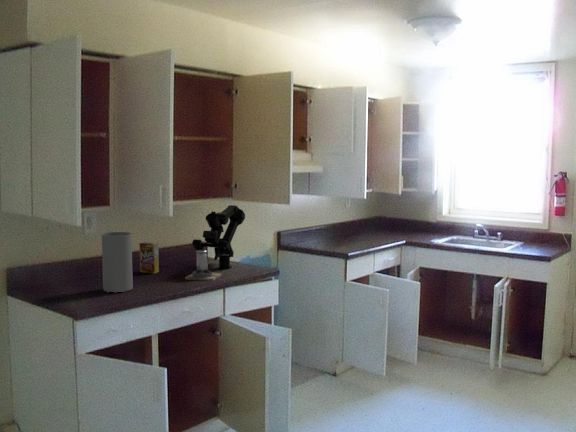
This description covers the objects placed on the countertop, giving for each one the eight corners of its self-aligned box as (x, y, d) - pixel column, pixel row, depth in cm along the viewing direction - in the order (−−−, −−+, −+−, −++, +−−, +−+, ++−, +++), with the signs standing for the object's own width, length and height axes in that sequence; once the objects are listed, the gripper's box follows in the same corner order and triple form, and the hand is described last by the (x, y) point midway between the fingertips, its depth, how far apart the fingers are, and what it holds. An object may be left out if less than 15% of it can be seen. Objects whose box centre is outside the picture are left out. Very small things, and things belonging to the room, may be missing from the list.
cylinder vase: (101, 288, 260) (99, 232, 258) (129, 285, 266) (128, 231, 263) (105, 294, 249) (104, 236, 247) (135, 291, 255) (134, 234, 252)
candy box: (139, 272, 296) (138, 242, 295) (144, 271, 300) (143, 241, 299) (154, 273, 293) (153, 243, 292) (159, 272, 297) (158, 242, 296)
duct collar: (196, 273, 289) (196, 269, 288) (214, 274, 287) (214, 270, 286) (190, 277, 280) (190, 273, 280) (207, 278, 278) (207, 274, 278)
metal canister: (196, 275, 286) (196, 249, 284) (208, 274, 286) (207, 249, 285) (196, 277, 280) (196, 251, 279) (208, 277, 281) (207, 251, 280)
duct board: (195, 273, 294) (195, 271, 294) (222, 275, 291) (222, 273, 291) (185, 279, 280) (185, 277, 280) (212, 280, 277) (212, 278, 277)
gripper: (193, 223, 293) (183, 248, 283) (227, 224, 287) (218, 250, 278) (200, 236, 301) (191, 261, 292) (233, 238, 295) (225, 264, 286)
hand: (206, 259), depth 287 cm, fingers open, 9 cm apart
